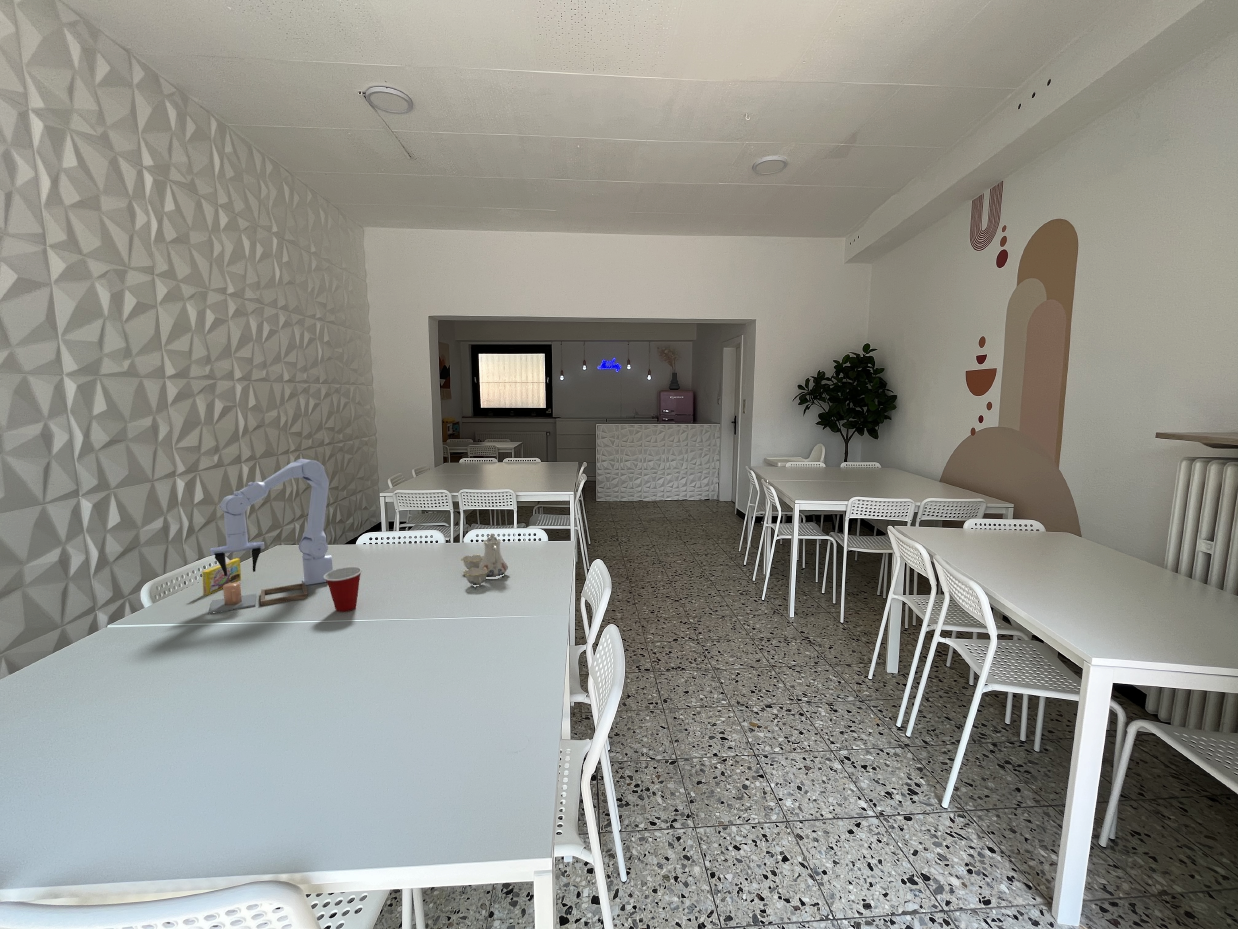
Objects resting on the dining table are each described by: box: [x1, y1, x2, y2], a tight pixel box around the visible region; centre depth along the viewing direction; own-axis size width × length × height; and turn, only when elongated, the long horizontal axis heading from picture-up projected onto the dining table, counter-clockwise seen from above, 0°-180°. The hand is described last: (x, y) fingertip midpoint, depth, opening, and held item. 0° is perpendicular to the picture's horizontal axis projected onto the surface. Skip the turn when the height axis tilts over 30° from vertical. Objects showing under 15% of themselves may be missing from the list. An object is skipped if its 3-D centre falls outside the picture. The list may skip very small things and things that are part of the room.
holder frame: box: [260, 582, 308, 606], centre depth 188 cm, size 13×13×2 cm
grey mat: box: [208, 593, 257, 614], centre depth 180 cm, size 12×12×1 cm
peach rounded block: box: [222, 581, 243, 605], centre depth 179 cm, size 6×5×6 cm
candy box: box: [202, 558, 242, 596], centre depth 196 cm, size 16×2×8 cm, turn 179°
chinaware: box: [460, 533, 509, 587], centre depth 205 cm, size 28×17×17 cm, turn 23°
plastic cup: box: [324, 566, 363, 613], centre depth 175 cm, size 11×11×12 cm
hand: (240, 573), depth 184 cm, fingers open, 7 cm apart
